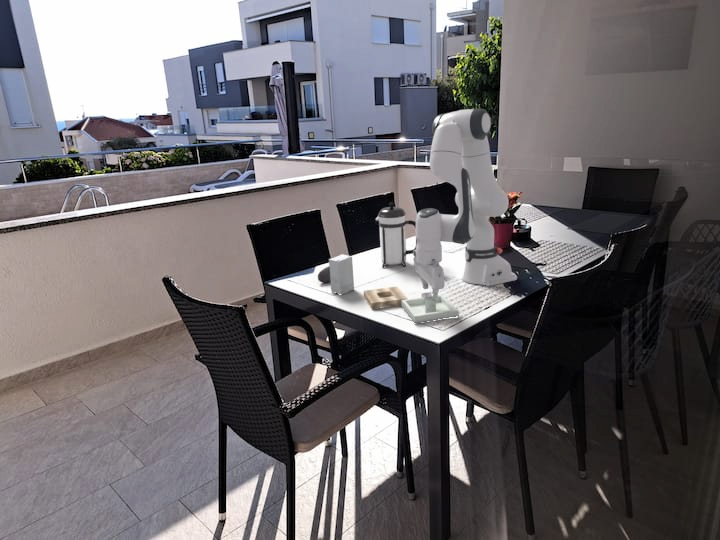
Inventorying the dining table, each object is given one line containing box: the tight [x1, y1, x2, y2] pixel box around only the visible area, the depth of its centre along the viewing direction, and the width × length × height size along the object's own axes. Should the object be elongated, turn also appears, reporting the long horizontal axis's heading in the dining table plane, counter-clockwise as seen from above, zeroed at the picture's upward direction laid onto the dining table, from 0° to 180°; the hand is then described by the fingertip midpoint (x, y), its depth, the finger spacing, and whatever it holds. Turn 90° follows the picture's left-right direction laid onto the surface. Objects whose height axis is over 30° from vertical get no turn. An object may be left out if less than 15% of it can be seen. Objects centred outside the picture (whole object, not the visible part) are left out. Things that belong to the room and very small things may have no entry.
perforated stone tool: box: [317, 265, 331, 283], centre depth 217 cm, size 15×5×7 cm, turn 127°
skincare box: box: [328, 253, 355, 295], centre depth 201 cm, size 8×6×15 cm
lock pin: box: [421, 291, 436, 313], centre depth 176 cm, size 4×4×6 cm
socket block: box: [363, 286, 409, 310], centre depth 191 cm, size 14×14×2 cm
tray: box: [401, 294, 460, 324], centre depth 177 cm, size 16×16×3 cm
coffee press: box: [375, 201, 417, 269], centre depth 231 cm, size 17×16×30 cm
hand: (430, 292), depth 175 cm, fingers open, 8 cm apart
